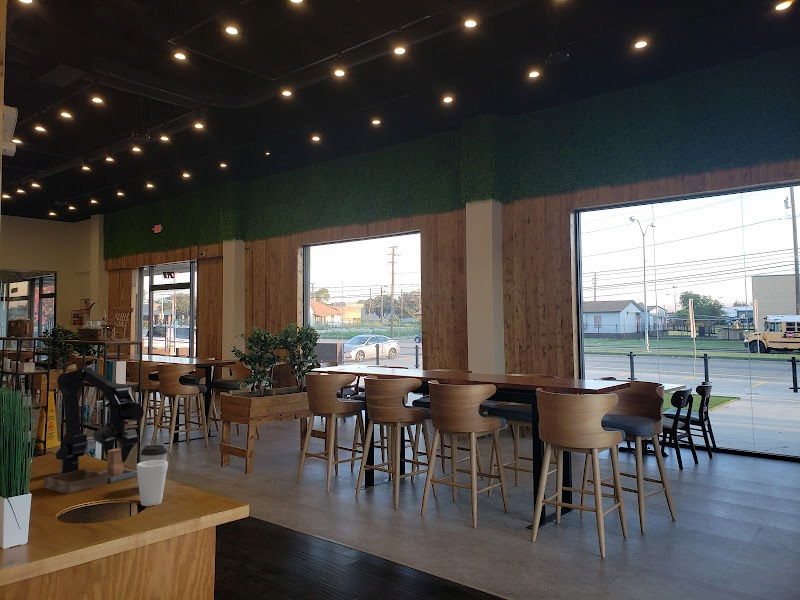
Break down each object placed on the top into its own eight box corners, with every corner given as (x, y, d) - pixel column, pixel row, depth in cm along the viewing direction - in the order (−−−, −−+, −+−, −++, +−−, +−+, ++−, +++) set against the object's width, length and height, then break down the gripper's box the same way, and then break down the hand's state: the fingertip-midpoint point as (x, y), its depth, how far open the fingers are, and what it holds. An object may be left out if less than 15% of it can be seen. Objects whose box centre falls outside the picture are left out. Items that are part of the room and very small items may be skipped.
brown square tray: (43, 489, 208) (44, 477, 208) (83, 479, 220) (83, 469, 220) (67, 495, 200) (68, 483, 201) (107, 485, 213) (107, 474, 213)
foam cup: (136, 509, 186) (137, 467, 187) (134, 501, 195) (136, 461, 195) (168, 505, 191) (169, 464, 191) (165, 497, 199) (166, 459, 199)
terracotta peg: (107, 477, 221) (107, 450, 221) (116, 474, 224) (117, 448, 225) (113, 478, 219) (114, 451, 219) (123, 476, 222) (124, 449, 223)
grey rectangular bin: (93, 480, 219) (93, 473, 220) (119, 474, 229) (119, 467, 229) (110, 484, 214) (111, 477, 214) (137, 478, 223) (137, 471, 224)
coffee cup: (171, 484, 215) (172, 443, 215) (158, 491, 206) (159, 448, 206) (147, 484, 215) (148, 443, 216) (134, 490, 206) (135, 448, 207)
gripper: (82, 419, 220) (80, 461, 219) (112, 424, 211) (111, 467, 210) (109, 416, 230) (108, 456, 229) (140, 420, 220) (138, 461, 220)
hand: (116, 460), depth 222 cm, fingers open, 9 cm apart
